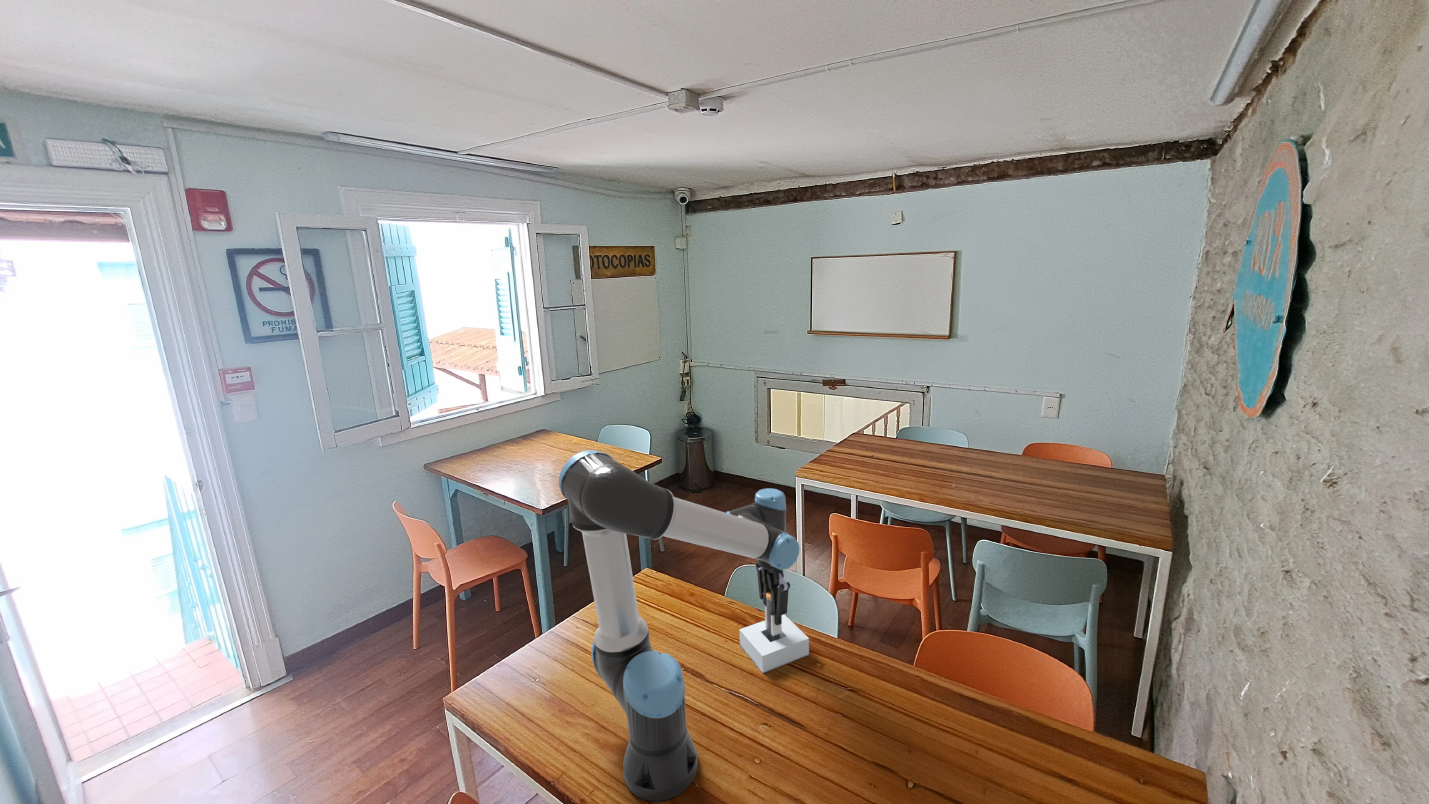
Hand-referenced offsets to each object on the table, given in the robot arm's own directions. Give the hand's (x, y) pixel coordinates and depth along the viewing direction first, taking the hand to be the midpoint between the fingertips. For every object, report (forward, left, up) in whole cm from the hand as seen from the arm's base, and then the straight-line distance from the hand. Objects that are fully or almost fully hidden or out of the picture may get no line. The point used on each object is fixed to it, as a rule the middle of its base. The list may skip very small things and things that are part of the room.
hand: (773, 630), depth 144 cm
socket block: (0, 0, -6) cm, 6 cm away
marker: (0, 0, -3) cm, 3 cm away
